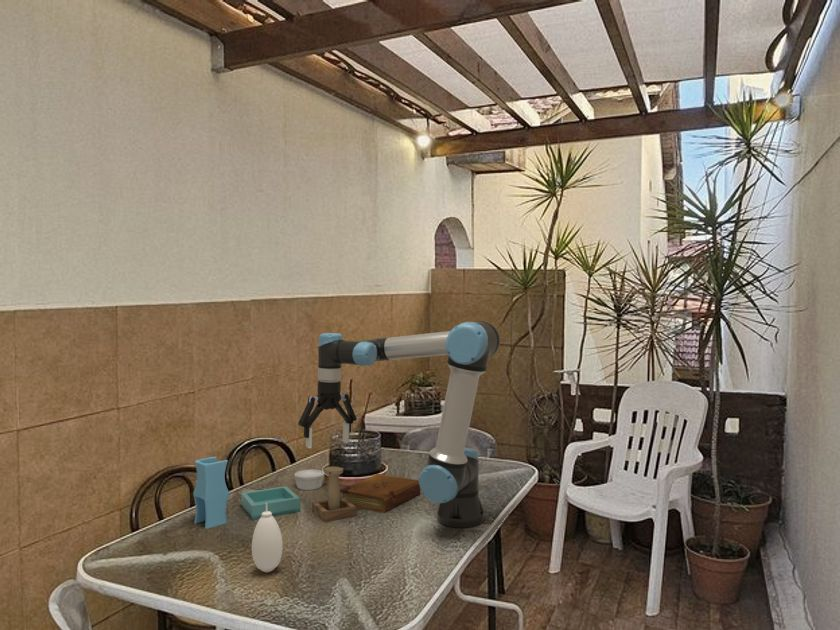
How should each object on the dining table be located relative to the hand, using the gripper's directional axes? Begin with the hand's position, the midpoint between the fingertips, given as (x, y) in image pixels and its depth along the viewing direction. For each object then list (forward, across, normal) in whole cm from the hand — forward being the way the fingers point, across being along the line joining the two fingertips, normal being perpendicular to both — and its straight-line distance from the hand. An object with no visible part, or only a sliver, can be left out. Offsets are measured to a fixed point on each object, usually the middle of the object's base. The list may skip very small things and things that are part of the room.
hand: (327, 445), depth 204 cm
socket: (+23, -3, 0) cm, 23 cm away
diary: (+24, -24, -3) cm, 34 cm away
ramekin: (+25, -11, -33) cm, 43 cm away
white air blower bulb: (+23, +32, +29) cm, 49 cm away
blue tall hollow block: (+25, +32, -17) cm, 44 cm away
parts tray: (+24, +12, -18) cm, 32 cm away
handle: (+24, -3, 0) cm, 24 cm away
